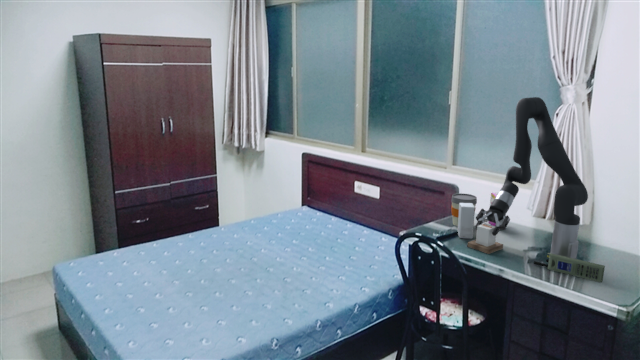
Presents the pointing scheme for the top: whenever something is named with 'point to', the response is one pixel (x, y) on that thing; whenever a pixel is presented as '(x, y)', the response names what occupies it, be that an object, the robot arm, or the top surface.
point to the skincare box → (466, 220)
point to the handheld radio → (574, 267)
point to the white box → (485, 235)
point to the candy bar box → (490, 205)
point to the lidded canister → (460, 199)
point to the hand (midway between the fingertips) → (484, 232)
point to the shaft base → (485, 247)
